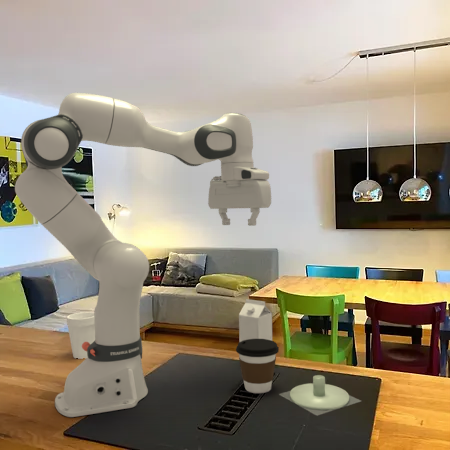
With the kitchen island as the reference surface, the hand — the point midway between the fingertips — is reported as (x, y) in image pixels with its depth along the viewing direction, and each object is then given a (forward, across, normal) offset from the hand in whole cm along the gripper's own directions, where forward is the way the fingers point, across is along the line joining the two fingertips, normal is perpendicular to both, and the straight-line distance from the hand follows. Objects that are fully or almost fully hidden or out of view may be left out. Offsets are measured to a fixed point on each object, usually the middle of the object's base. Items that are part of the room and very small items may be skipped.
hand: (238, 225), depth 128 cm
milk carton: (+42, -4, +10) cm, 44 cm away
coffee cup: (+42, +9, -5) cm, 44 cm away
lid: (+42, +24, 0) cm, 48 cm away
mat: (+42, +24, 0) cm, 49 cm away
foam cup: (+42, -51, -19) cm, 69 cm away
